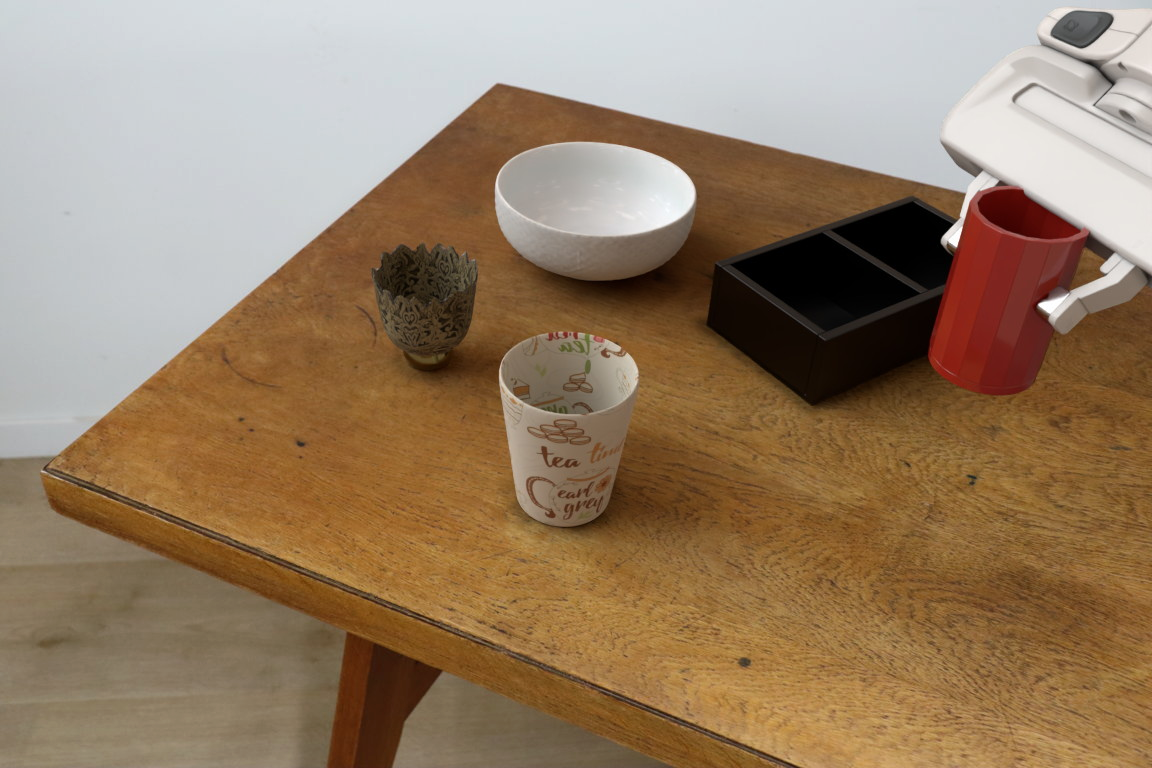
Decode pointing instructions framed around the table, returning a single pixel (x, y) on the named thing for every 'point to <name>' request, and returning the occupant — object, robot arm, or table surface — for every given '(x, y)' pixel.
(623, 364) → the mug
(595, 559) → the table surface
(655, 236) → the cereal bowl
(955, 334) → the cup
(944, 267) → the caddy
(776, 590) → the table surface
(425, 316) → the cup
